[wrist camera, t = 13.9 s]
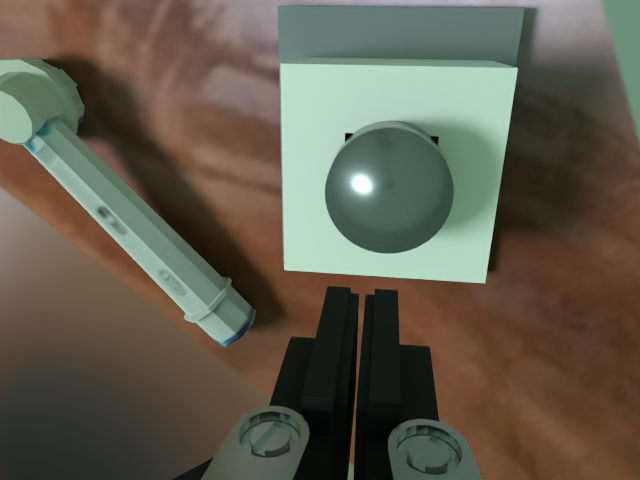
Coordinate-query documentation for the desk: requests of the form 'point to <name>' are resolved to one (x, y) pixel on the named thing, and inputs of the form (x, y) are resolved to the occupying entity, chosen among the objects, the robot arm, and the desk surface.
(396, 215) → the steel pin
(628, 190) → the desk surface
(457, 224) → the hitch block
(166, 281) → the white flashlight
